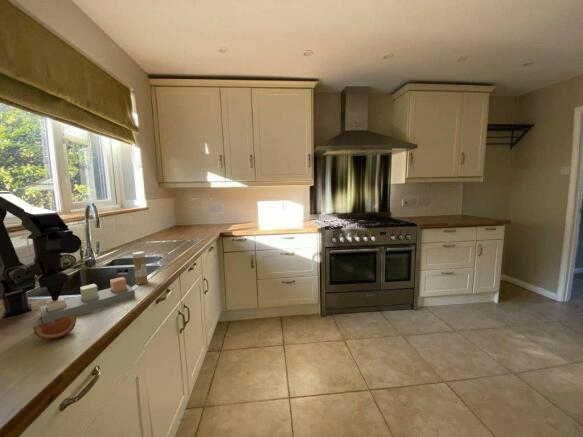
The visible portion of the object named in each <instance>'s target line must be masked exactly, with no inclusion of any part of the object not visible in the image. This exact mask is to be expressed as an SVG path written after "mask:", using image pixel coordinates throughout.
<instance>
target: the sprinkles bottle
mask: <svg viewBox="0 0 583 437" xmlns="http://www.w3.org/2000/svg"><path fill="white" fill-rule="evenodd" d="M132 258H133V270H134V277H135V284H136V285H137V284H138V283H139V284H141V285H144V284H147V283H148V268H147V262H146V252H145V251H136V252H133V253H132Z"/></svg>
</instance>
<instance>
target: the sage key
mask: <svg viewBox="0 0 583 437" xmlns="http://www.w3.org/2000/svg"><path fill="white" fill-rule="evenodd" d="M79 289H80V296H81V298H82V301H83V302H85V301H88V300H92V299H96V298H99V296H98V291H99V290H98V285H97V284H95V283H92V284H87V285H83V286H80V287H79Z"/></svg>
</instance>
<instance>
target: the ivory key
mask: <svg viewBox="0 0 583 437" xmlns="http://www.w3.org/2000/svg"><path fill="white" fill-rule="evenodd" d="M65 300H66V299H65V298H64V296H59V298H58V300H56V301H53V300H52V298H51V299H49V300H46V301H45V305H47V310H48V312H49V311H53V310H56V309H60V308H64V307H66V305H65Z"/></svg>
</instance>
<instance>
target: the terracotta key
mask: <svg viewBox="0 0 583 437" xmlns="http://www.w3.org/2000/svg"><path fill="white" fill-rule="evenodd" d="M109 282H110V283H109V284H110V288H111V292H112V293H117V292H120V291H124V290H127V285H128V284H127V278H125V277H124V276H121V277H116V278H112V279H110V280H109Z"/></svg>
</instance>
